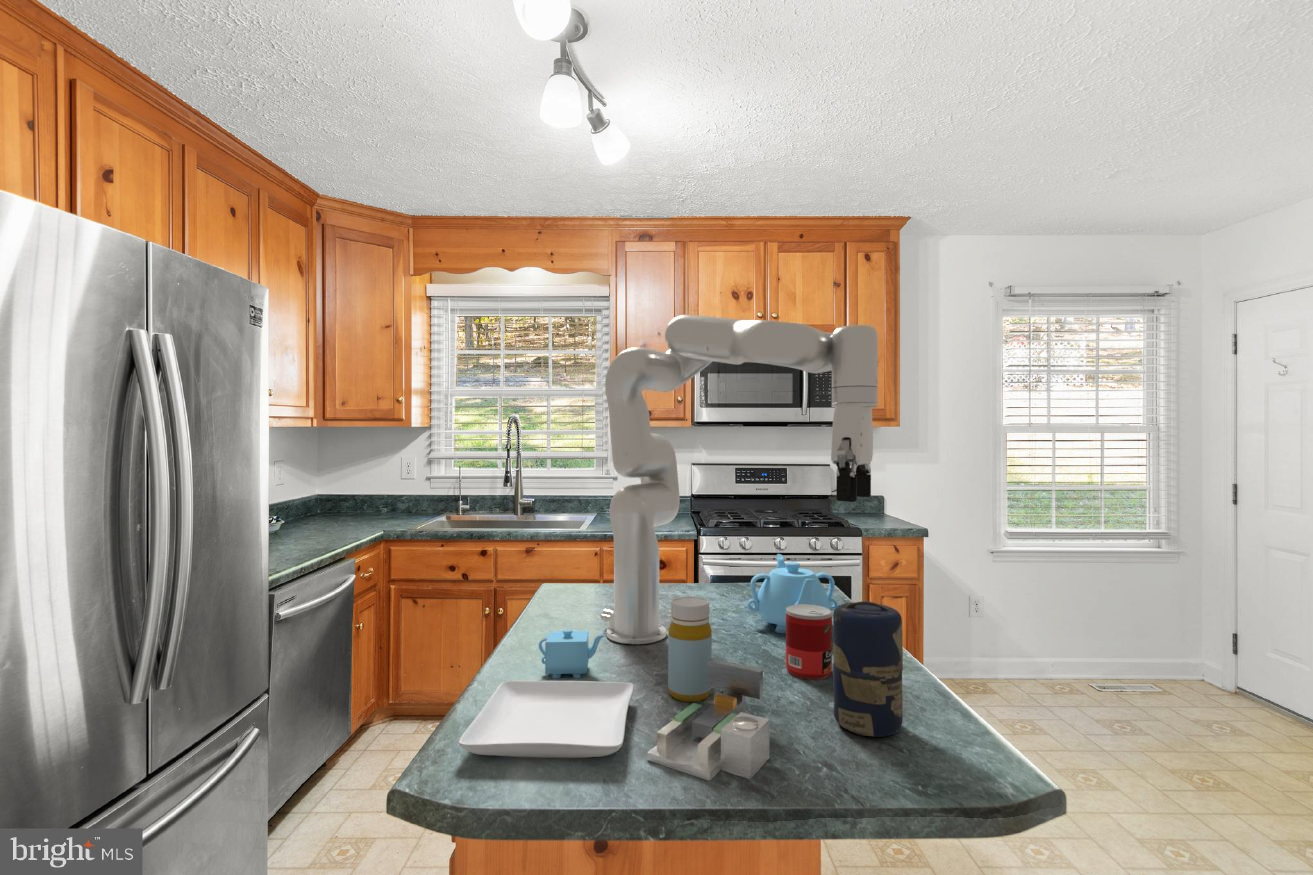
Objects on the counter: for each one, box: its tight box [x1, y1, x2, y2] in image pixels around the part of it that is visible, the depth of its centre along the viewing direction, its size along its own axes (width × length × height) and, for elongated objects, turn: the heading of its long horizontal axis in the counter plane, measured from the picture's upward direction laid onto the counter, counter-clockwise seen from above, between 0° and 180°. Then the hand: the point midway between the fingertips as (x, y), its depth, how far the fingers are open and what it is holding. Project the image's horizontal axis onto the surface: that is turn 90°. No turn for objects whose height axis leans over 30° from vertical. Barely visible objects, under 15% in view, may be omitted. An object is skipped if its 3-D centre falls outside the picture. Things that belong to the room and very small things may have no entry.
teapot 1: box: [538, 628, 607, 679], centre depth 109 cm, size 12×6×8 cm, turn 94°
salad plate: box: [458, 680, 635, 759], centre depth 88 cm, size 21×21×3 cm
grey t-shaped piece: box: [692, 658, 764, 739], centre depth 87 cm, size 8×11×7 cm
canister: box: [832, 600, 904, 738], centre depth 89 cm, size 10×10×18 cm
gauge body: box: [646, 702, 770, 782], centre depth 81 cm, size 13×11×5 cm
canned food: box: [785, 604, 833, 680], centre depth 110 cm, size 8×8×11 cm
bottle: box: [667, 596, 713, 703], centre depth 100 cm, size 7×7×15 cm
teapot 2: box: [746, 553, 839, 634], centre depth 137 cm, size 16×20×14 cm
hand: (854, 498), depth 106 cm, fingers open, 9 cm apart
